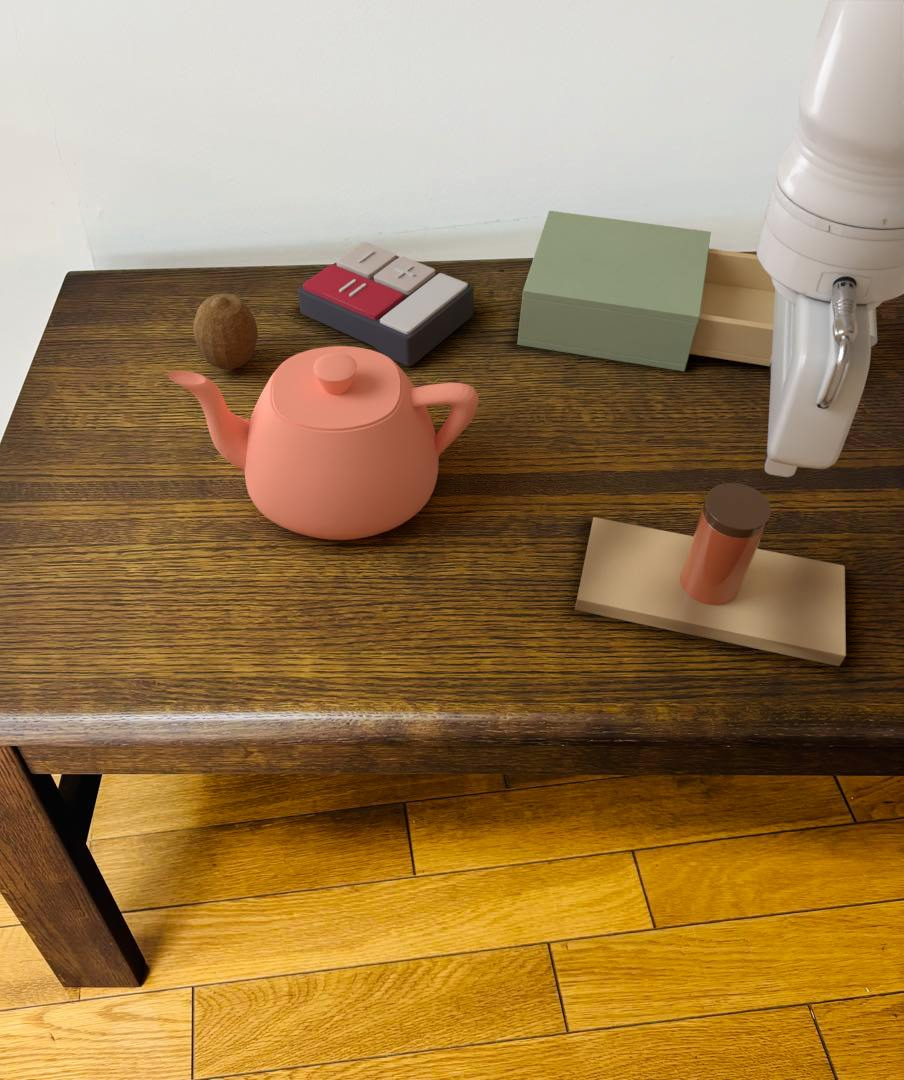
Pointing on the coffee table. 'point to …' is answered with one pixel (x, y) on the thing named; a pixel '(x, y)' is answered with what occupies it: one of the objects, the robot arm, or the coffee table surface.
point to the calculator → (387, 302)
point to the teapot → (337, 441)
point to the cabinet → (615, 290)
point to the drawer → (740, 310)
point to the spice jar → (724, 543)
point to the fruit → (225, 331)
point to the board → (748, 620)
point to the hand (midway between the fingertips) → (780, 418)
